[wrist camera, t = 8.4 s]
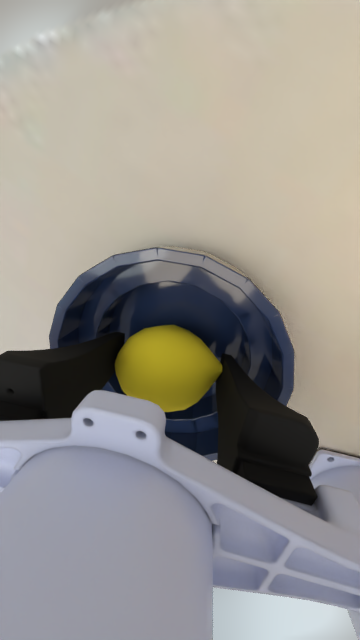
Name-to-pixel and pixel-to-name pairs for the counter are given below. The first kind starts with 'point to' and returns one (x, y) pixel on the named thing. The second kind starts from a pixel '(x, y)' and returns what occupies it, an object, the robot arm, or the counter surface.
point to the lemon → (166, 367)
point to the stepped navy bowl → (182, 323)
